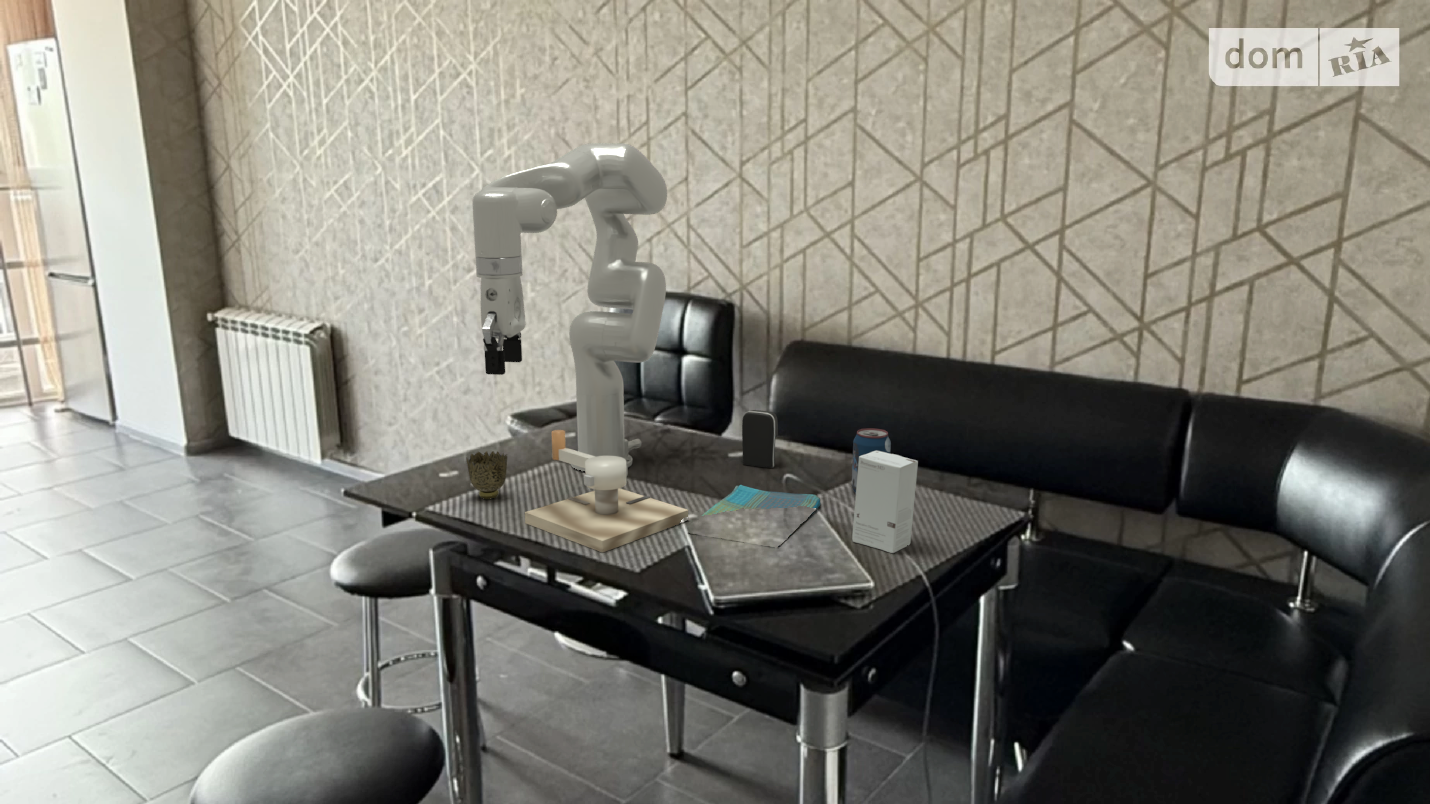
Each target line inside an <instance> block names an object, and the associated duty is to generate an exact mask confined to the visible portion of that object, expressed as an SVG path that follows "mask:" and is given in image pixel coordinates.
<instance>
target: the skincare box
mask: <svg viewBox="0 0 1430 804" xmlns="http://www.w3.org/2000/svg"><path fill="white" fill-rule="evenodd" d="M918 466H919V460H916V459H912V458H908V457H904V456H902V455H899V454H894V453H890V454H889V453H885V452H881V451H873V452H870V453H868V454H865V455H862V456H859V464H858V475H857V486H856V494H855V502H854V511H853V512H854V513H853V521H852V522H853V524H852V535H851V538H852V543H856V544H859V545H860V544H861V545H864V546H866V547H871V548H874V549H879V550H881V551H885V552H887V553H891V554H894V553H897V552H898V551H900V550H902V549H904V548H907V547H908V546H910V544H911V539H912V531H913V530H912V529H913V519H914V509H915V499H916V487H917V479H918V478H917V476H918ZM907 545H908V546H907Z"/></svg>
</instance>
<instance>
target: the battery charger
mask: <svg viewBox="0 0 1430 804" xmlns="http://www.w3.org/2000/svg"><path fill="white" fill-rule="evenodd" d="M741 421H742V422H741V423H742V424H741V441H742V443H741V444H742V461H741V462H742V465H745V466H750V467H758V468H767V469H771V468H772V469H773V468H774V467H775V465H776V456H775V455H776V454H775V451H776V439H777V437H778V430H779V429H778V428H779V427H778V423H779V422H778V417H777V415H776V413H775V412H772V411H769V410H759V409H751V410H749V411H746V412H745V413H744V414H743V416H742V419H741Z"/></svg>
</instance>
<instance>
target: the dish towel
mask: <svg viewBox="0 0 1430 804" xmlns="http://www.w3.org/2000/svg"><path fill="white" fill-rule="evenodd" d="M821 504H822V503H821V499H820V497H819V496H817V494H809V493H790V492H781V491H780V492H779V491H768V490H761V489H757V488H753V487H749V486H746V485H742V484H740V485H735V487H734V489H733V490H732V492H730V493H729V494H727V496H725V497H724V498H722V499H721V500H720V501H718V502H717V503H715V504H714V505H713V506H712V507H710V508H709V509H708V510H707V511H705V512H704V513H703V514H701V516H704V515H712V514H717V513H721V512H725V511H736V510H739V509H742V508H744V509H771V508H790V507H797V506H807V507H810V508H817V509H818V508H819V507H820V506H821Z"/></svg>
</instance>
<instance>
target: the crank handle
mask: <svg viewBox="0 0 1430 804" xmlns="http://www.w3.org/2000/svg"><path fill="white" fill-rule="evenodd" d="M551 451H552V452H551V453H552V455H551V458H552V460H554V461H560V462H563V463H567V464H570V465H571V464H573V465H576V466H579V467H583V468H585V474H584V475H583V485H584V486H586V487H587V488H588V489H593V490H595V489H596V490H613V489H618V488H620V489H622V488H623V487H625V486H626V485H627V484H628V483H627V480H628V479H627V476H628V475H629V473H628V472H629V471H628V468H627V466H626V460H625V459H624V458H622V457H618V456H597V457H596V456H592V455H589V454H585V453H582V452H579V451H578V450H574V449H572V448H568V447H566V430H565V429H564V430H563V429H554V430H552V431H551Z"/></svg>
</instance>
